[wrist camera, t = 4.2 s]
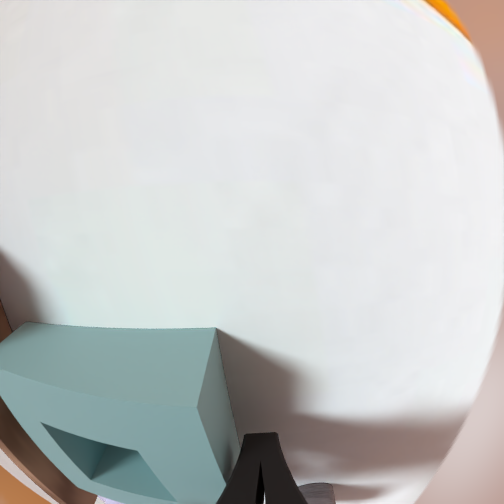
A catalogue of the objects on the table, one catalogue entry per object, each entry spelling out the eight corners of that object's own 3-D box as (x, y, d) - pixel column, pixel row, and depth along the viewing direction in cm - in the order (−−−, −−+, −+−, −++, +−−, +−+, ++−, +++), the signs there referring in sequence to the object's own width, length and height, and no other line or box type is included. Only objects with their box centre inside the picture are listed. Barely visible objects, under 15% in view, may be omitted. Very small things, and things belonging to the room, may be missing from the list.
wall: (105, 476, 14) (88, 519, 9) (87, 470, 14) (68, 510, 9) (-17, 230, 8) (-86, 257, 4) (-31, 235, 9) (-92, 260, 4)
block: (245, 464, 12) (243, 520, 8) (97, 446, 13) (78, 487, 9) (216, 325, 10) (196, 407, 6) (28, 320, 10) (-20, 360, 6)
